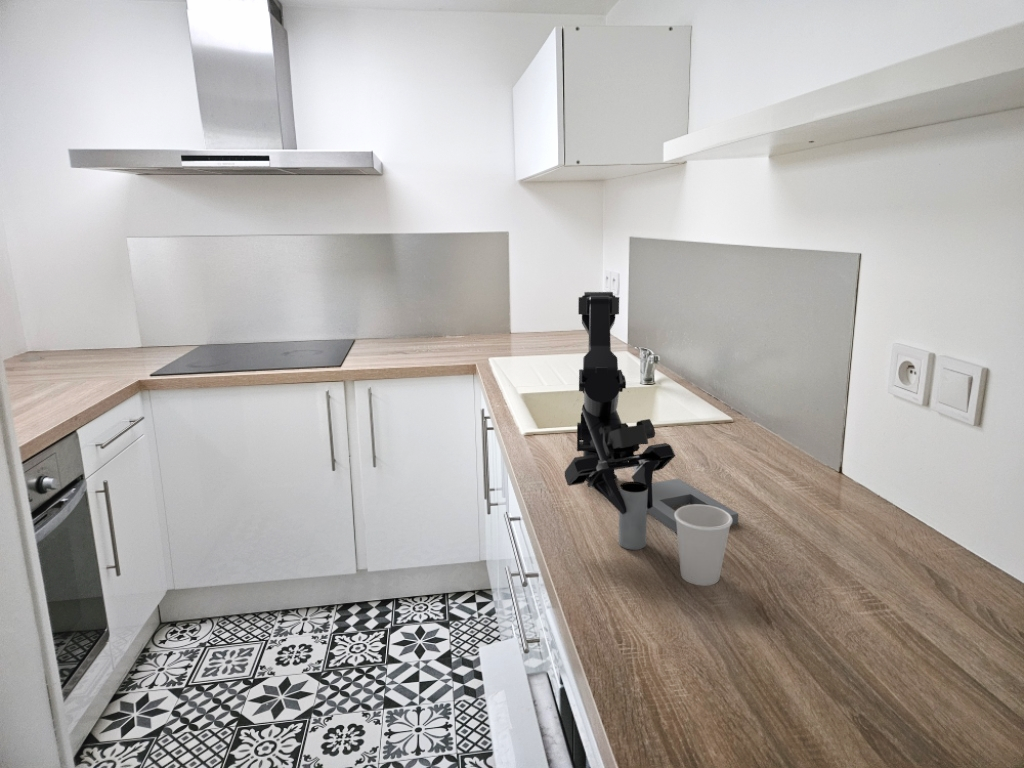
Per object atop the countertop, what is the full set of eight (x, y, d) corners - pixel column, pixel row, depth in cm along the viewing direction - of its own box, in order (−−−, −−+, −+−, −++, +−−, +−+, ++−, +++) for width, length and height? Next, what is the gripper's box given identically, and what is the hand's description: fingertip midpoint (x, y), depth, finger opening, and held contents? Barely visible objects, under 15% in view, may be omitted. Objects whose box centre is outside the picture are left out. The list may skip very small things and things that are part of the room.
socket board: (626, 497, 133) (626, 487, 132) (678, 487, 137) (678, 478, 137) (680, 536, 117) (681, 525, 116) (737, 523, 121) (738, 513, 120)
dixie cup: (691, 556, 110) (694, 499, 107) (739, 576, 104) (743, 515, 101) (660, 575, 104) (663, 515, 102) (708, 597, 98) (712, 533, 96)
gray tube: (627, 535, 117) (628, 479, 115) (650, 542, 115) (652, 485, 112) (613, 544, 114) (614, 487, 112) (637, 552, 111) (639, 494, 109)
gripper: (572, 410, 109) (605, 500, 102) (671, 397, 115) (708, 481, 108) (551, 442, 118) (580, 527, 111) (644, 429, 125) (677, 508, 117)
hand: (637, 510), depth 111 cm, fingers closed on gray tube, 4 cm apart
